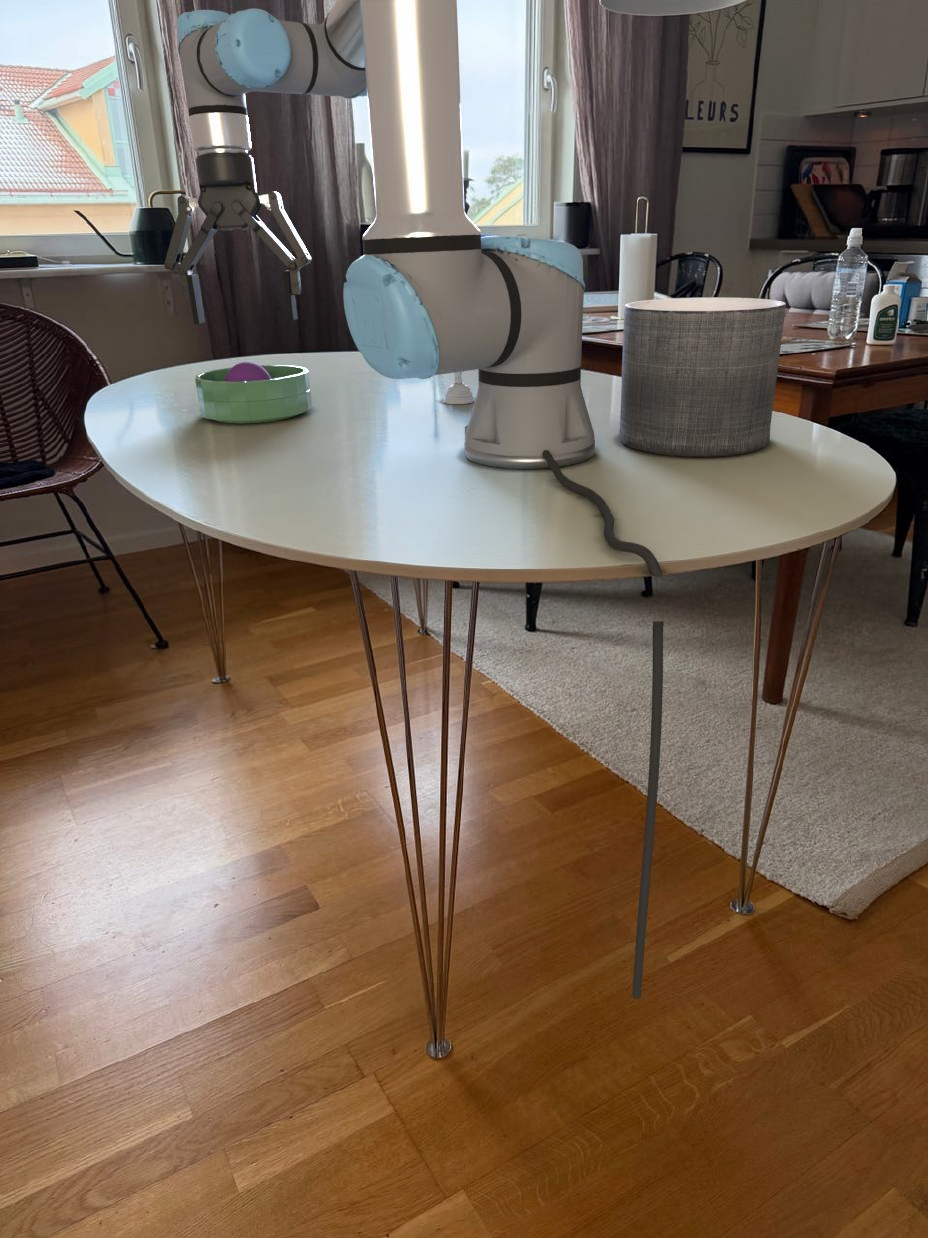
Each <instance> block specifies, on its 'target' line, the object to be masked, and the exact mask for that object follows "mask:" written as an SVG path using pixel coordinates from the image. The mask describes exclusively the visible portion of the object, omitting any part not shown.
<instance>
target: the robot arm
mask: <svg viewBox="0 0 928 1238" xmlns="http://www.w3.org/2000/svg"><path fill="white" fill-rule="evenodd" d="M457 1H458V0H337V1H336V2H335V3H334V5H333V7H332V9H331V10H330V11H329V12H328V13H327V15H326V17H325V18H324V19H323V21H322V23H319V24H318V23H307V22H298V21H289V20H281V19H280V20H279V19H277V17H275V16H274V15H273V14H271V13H269V12H268V11H267V10H264V9H261V8H248V9H243V10H237V11H236V12H235V13H230V14H229V13H227V12H226V11H225V12H224V11H220V10H213V9H195V10H192V11H185V12H183V13H181V14H180V15H179V16H178V17H177V20H176V35H177V53H178V56H179V60H180V64H181V65H180V66H181V72H182V79H183V85H184V91H185V98H186V99H185V100H186V104H187V111H188V116H189V117H188V119H189V125H190V132H191V133H190V134H191V139H192V146H193V150H194V151H195V152H196V153H198V155H197V156H196V158H195V159H194V160H195V166H196V173H197V181H198V187H199V196H198V197H191V196H187V195H178V197H177V217H176V220H175V224H174V227H173V231H172V235H171V237H170V241H169V245H168V249H167V252H166V256H165V260H164V262H163V266H164V268H165V270H167V271H170V272H171V271H172V272H174V273H177V274H178V276H179V279H180V280H179V281H180V285H181V292H182V296H183V298H184V300H190V308H191V313H192V314H191V315H192V319H193V320H192V321H193V324H194V325H200V324H204V323H206V318H205V312H204V311H205V310H204V306H203V304H204V303H203V298H202V292H201V285H200V279H199V274H198V273H194V271H193V270H194V269H195V267H196V266H197V264H198V262H199V261H200V259H201V257H202V255H203V254H204V252H205V250H206V248H207V247H208V245H209V244H210V242H211V240H212V239H213V237H214V235H215V234H217V232H218V231H222V232H223V231H224V232H226V231H229V232H230V231H234V230H236V231H247V230H248V229H250V230H252V231H253V233H255V234H256V235H257V236H258V237H259V238H260V239H261V240H262V241H263V242H264V244H265V245H266V246H267V247H268V248H269V249H270V250H271V251H272V253H274V255H276V257H277V258H278V259H279V260H280V261H281V263H283V264H284V265H285V267H286V268H287V270H282V279H283V287H284V295H285V305H286V313H287V321H289V322H290V321H296V320H298V318H299V317H298V309H297V300H296V296H297V295H301V294H302V282H301V268H303V267H305V266H307V265H309V264H311V263H312V260H313V259H312V256H311V255H310V253H309V251H308V249H307V248H306V245H305V244H304V242H303V240H302V239H301V237H300V235H299V233H298V232H297V229H296V228H295V227H294V225H293V223H292V221H291V219H290V218H289V216H288V214H287V212H286V210H285V208H284V203H283V199H282V195H281V193H279V192H277V191H269V192H268V193H265V194H259V192H258V188H257V181H256V173H255V164H254V157H252V154H248V152H249V151H251V149H252V141H251V131H250V124H249V123H250V122H249V117H248V109H247V100H246V99H247V98H246V94H249V93H251V92H261V93H263V92H264V93H277V94H278V93H279V94H293V95H294V94H296V95H313V96H326V97H327V96H328V97H337V98H338V97H339V98H344V99H352V100H353V99H356V98H367V108H368V109H367V110H368V124H369V125H368V126H369V136H370V137H369V138H370V151H371V162H372V163H371V165H372V178H373V189H374V204H375V217H374V220H373V222H372V223H371V225H370V226H369V227H368V228H367V230H366V231H365V232H364V233H363V235H362V251H363V255H361V256H359V258H356V259H355V260H354V261H353V262H352V263H351V264H350V265H349V267H348V269H347V271H346V274H345V279H346V281H345V282H344V283H343V291H342V293H343V296H342V297H343V308H344V313H345V317H346V323H347V327H348V329H349V332H350V335H351V337H352V341H353V342H354V344H355V347H356V349H357V350H358V352H359V353H360V354H361V355H362V357H363V359H364V360H365V362H366V363H367V364H368V365H369V367H371V368H372V370H374V371H375V372H377V374H379V375H381V376H383V377H386V378H388V379H394V380H403V379H404V380H407V379H419V380H420V379H421V380H427V379H430V378H431V377H434V376H438V375H447V374H455V373H454V372H461V371H462V372H468V371H474V370H477V371H478V375H477V377H478V379H477V380H478V385H477V386H478V387H477V393H476V397H475V398H474V399H475V401H474V402H473V406H472V410H471V414H470V417H469V420H468V424H467V425H465V426H464V442H463V446H464V456H465V458H466V459H468V460H469V461H471V462H473V463H477V464H479V465H484V466H489V467H493V468H494V467H495V468H502V469H516V470H517V469H520V470H521V469H522V470H523V469H524V470H526V469H528V470H529V469H530V470H531V469H532V470H533V469H549V468H550V470H551V471H552V473H553V475H554V477H555V479H556V480H557V481H558V483H559V484H561V485H562V486H563V487H564V488H566V489H568V490H570V491H572V492H575V493H577V494H579V495H582V496H584V497H586V498H588V500H590V501H591V502H592V503H593V504H595V506H596V507H597V508H598V510H599V511H600V513H601V516H602V518H603V521H604V527H603V536H604V538H605V541H606V543H607V544H608V545H609V546H610V547H611V548H612V549H614V550H616V551H619V552H624V553H630V554H634V555H637V556H639V557H640V558H641V559H642V560H643V561H644V562H645V564H646V565H647V567H648V570H649V572H650V575H651V576H652V577H656V578H661V577H663V576H664V575H663V571H662V569H661V566H660V564H659V561H658V559H657V557H656V556H655V554H654V553H653V552H652V551H651V550H650V549H649V548H648V547H646V546H644V545H642V544H639V543H636V542H631V541H626V540H625V541H624V540H620V539H619V538H618V537H616V534H615V530H614V529H615V517H614V515H613V513H612V511H611V509H610V508H609V505H608V504H607V502H606V501H605V499H603V497H602V496H600V495H599V493H597V492H596V491H595V490H592V489H591V488H589V487H587V486H584V485H582V484H579V483H577V482H574V481H572V479H569V478H568V477H566V476H565V474H564V473H563V472H562V470H561V468H560V467H566V466H570V465H571V466H572V465H574V464H575V465H576V464H578V463H582V462H585V461H587V460H589V459H591V458H592V457H594V455H595V450H596V440H595V432H594V428H593V425H592V421H591V418H590V414H589V411H588V407H587V404H586V401H585V396H584V393H583V390H582V384H581V383H582V382H581V381H582V378H581V377H582V353H583V352H582V349H583V346H582V345H583V323H584V320H583V319H584V298H585V297H584V296H585V290H586V283H585V281H584V259H583V256H582V253H581V252H580V250H579V248H578V247H577V246H575V245H573V244H572V243H568V242H564V241H558V240H552V239H545V238H536V237H535V238H533V237H527V238H526V237H522V236H521V237H520V236H505V235H504V236H501V235H487V236H482V234H481V229H479V228H478V227H477V225H476V224H474V222H473V221H472V220H471V219H470V218H469V217H468V215H467V214H466V211H465V191H464V190H465V189H464V188H465V187H464V164H463V163H464V160H463V134H462V133H463V132H462V131H463V130H462V110H461V109H462V108H461V82H460V81H461V80H460V78H461V77H460V53H459V51H460V50H459V27H458V26H459V25H458V22H459V21H458V2H457ZM262 205H264V206H265V209H266V210H268V211H270V212H271V213H272V215H273V218H274V220H275V221H276V223H277V224H278V226H279V228H280V229H281V231H282V233H283V235H284V237H285V238H286V240H287V242H288V243H289V245H290V247H291V249H292V251H293V252H294V254H295V256H296V258H295V256H293V254H292V253H291V252H290V251H289V250H288V249H287V248H286V246H285V245H284V244H283V243H282V242H281V241H280V240H279V239H278V238H277V237H276V236H275V234H274V233H273V232H272V231H271V230H270V229H269V227H267V225H266V224H265V222H264V221H263V220H262V219H261V218H260V217H259V216H258V213H259V211H260V210H261V207H262ZM198 208H199V209H200V210H201V211H202V213H203V214H204V215H205V216H206V217H205V219H204V220H203V222H202V224H201V225H200V229H199V231H198V233H197V235H196V236H195V238H194V240H192V243H191V245H190V246H189V248H188V249H187V251H186V253H185V255H184V256H183V253H184V249H185V246H186V242H187V239H188V235H189V232H190V229H191V226H192V221H193V215H195V214H197V210H198ZM182 257H183V258H182ZM193 273H194V274H193ZM664 623H665V622H664V620H661V621H660V620H659V621H657V620H655V621H654V620H653V621H652V676H651V677H652V682H651V691H652V692H651V716H650V717H651V719H650V720H651V721H650V724H651V725H650V742H649V743H650V744H649V763H648V777H647V778H648V779H647V792H646V793H647V794H646V809H645V822H644V833H643V834H644V835H643V848H642V858H641V871H640V872H641V873H640V883H639V884H640V885H639V896H638V907H637V919H636V934H635V946H634V947H635V948H634V959H633V961H634V963H633V976H632V977H633V979H632V992H631V993H632V995H631V996H632V998H633V999H635V1000H640V999H641V998H642V987H643V974H644V973H643V971H644V959H645V958H644V957H645V947H646V946H645V945H646V933H647V922H648V910H649V898H650V888H651V887H650V886H651V876H652V866H653V865H652V864H653V853H654V852H653V851H654V843H655V828H656V819H657V805H658V790H659V778H660V777H659V776H660V760H661V746H662V745H661V744H662V725H663V724H662V721H663V695H664V693H663V688H664Z"/></svg>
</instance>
